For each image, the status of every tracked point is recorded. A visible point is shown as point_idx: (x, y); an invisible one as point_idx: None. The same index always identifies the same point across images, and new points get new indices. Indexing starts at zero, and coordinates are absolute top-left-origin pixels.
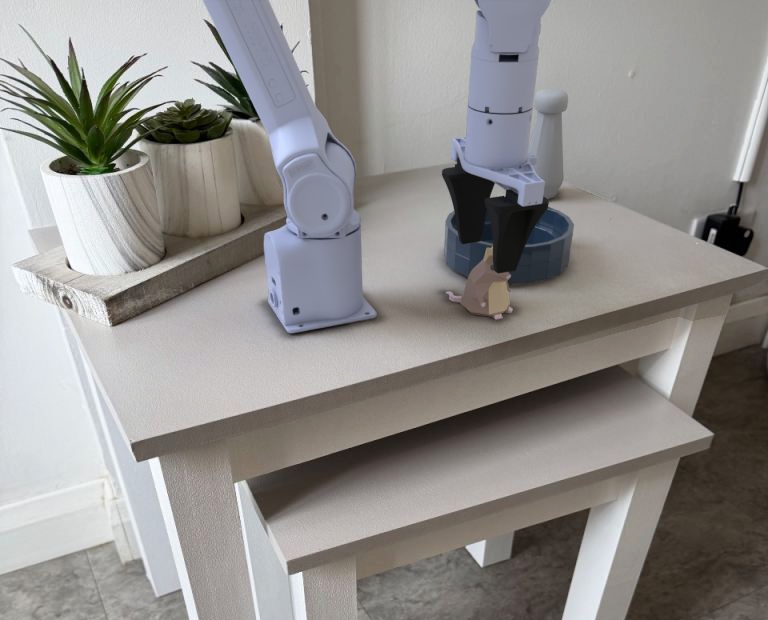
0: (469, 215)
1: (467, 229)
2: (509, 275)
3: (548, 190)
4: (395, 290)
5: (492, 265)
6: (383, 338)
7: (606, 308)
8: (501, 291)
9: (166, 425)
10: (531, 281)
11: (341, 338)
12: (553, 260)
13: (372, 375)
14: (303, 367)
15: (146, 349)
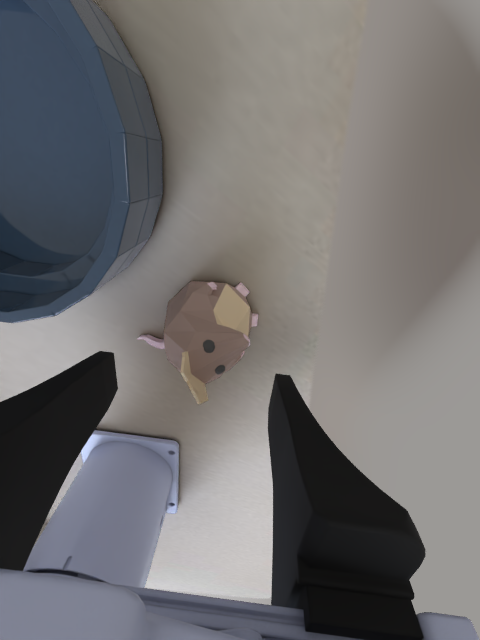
0: (77, 424)
1: (100, 403)
2: (249, 343)
3: None
4: None
5: (218, 373)
6: (227, 452)
7: (341, 86)
8: (237, 328)
9: None
10: (161, 185)
11: (206, 479)
12: (139, 113)
13: None
14: (244, 518)
15: (154, 571)
